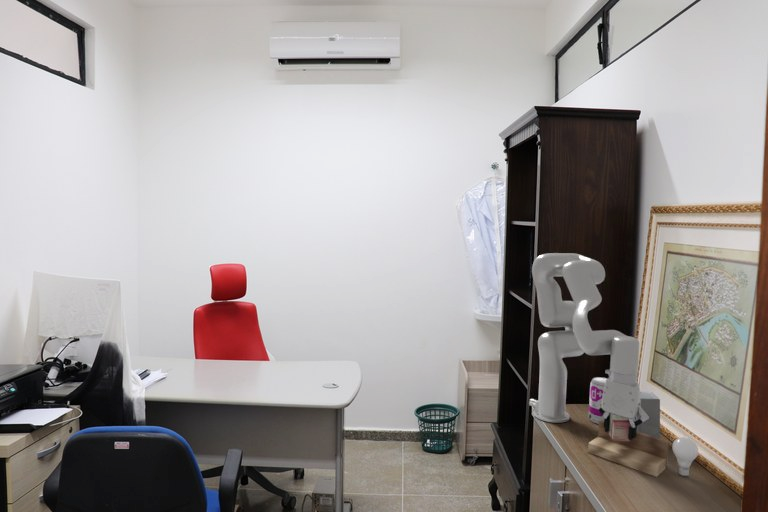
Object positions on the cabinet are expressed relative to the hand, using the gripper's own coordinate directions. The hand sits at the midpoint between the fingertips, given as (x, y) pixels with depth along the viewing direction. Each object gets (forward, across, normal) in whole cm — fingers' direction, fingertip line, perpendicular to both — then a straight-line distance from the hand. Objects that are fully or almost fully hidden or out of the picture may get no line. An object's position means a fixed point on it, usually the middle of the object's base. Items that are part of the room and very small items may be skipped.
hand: (619, 434), depth 155 cm
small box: (+1, 0, 0) cm, 1 cm away
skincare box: (+8, +1, +18) cm, 20 cm away
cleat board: (+7, +2, +1) cm, 8 cm away
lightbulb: (+8, +17, +3) cm, 19 cm away
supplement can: (+8, -16, +24) cm, 30 cm away
